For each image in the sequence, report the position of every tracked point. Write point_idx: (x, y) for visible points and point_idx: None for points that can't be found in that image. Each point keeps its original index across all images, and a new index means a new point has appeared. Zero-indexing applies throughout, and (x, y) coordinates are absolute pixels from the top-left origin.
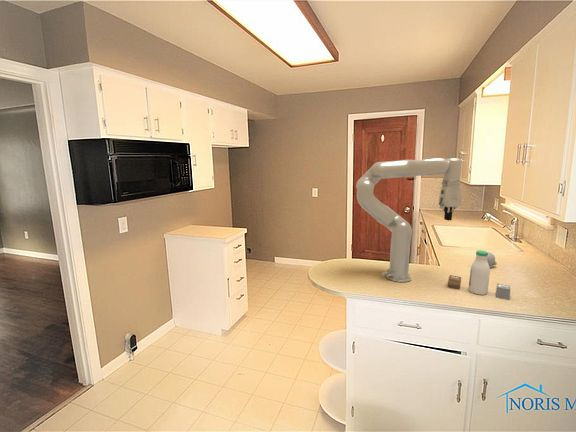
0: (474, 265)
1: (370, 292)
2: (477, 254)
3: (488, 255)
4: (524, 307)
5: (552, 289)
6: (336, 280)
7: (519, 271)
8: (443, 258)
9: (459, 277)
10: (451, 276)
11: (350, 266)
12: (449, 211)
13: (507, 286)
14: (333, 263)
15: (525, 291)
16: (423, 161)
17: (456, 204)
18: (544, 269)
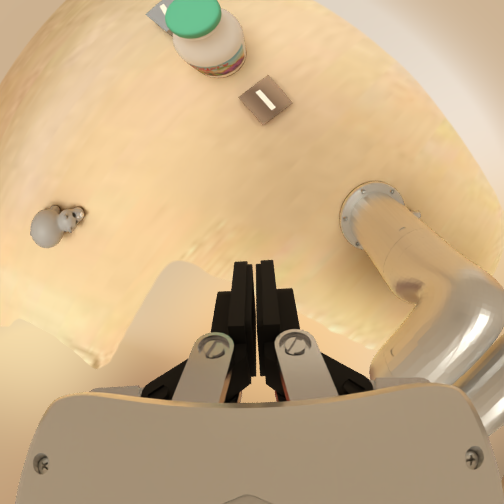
0: (237, 31)
1: (475, 169)
2: (220, 16)
3: (43, 225)
4: None
5: (36, 61)
6: (481, 249)
7: (19, 173)
8: (132, 300)
9: (247, 96)
10: (272, 109)
11: None
12: (278, 348)
13: (161, 7)
14: None
15: (93, 46)
16: None
17: (156, 437)
18: None
